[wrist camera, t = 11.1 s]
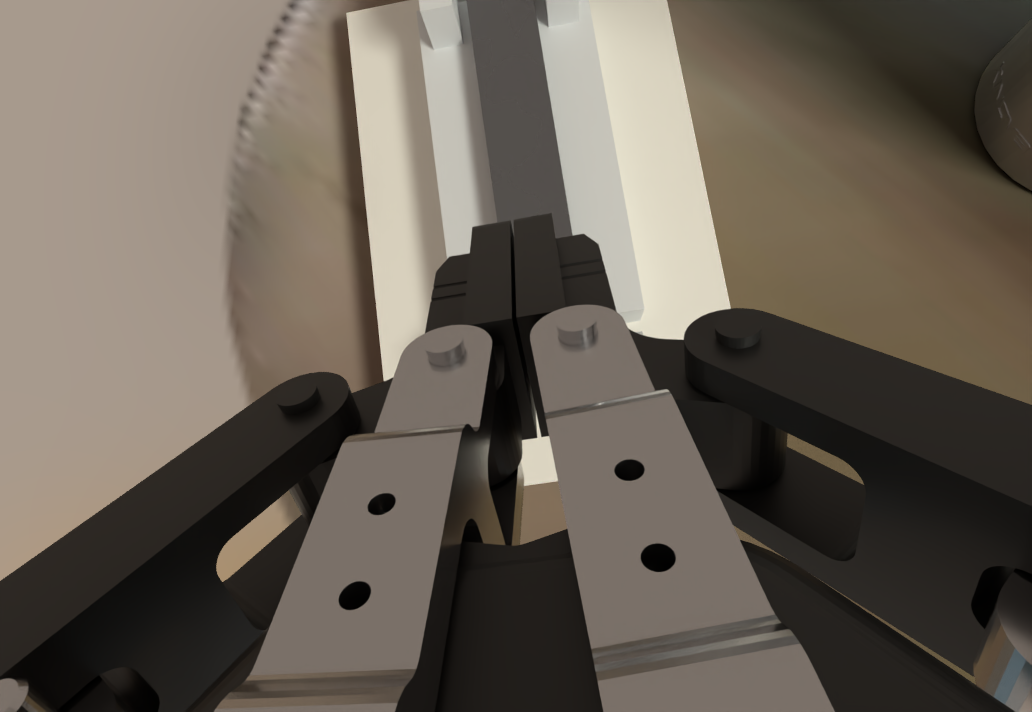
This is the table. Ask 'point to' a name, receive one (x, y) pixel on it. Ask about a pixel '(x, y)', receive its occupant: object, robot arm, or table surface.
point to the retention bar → (517, 112)
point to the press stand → (582, 149)
